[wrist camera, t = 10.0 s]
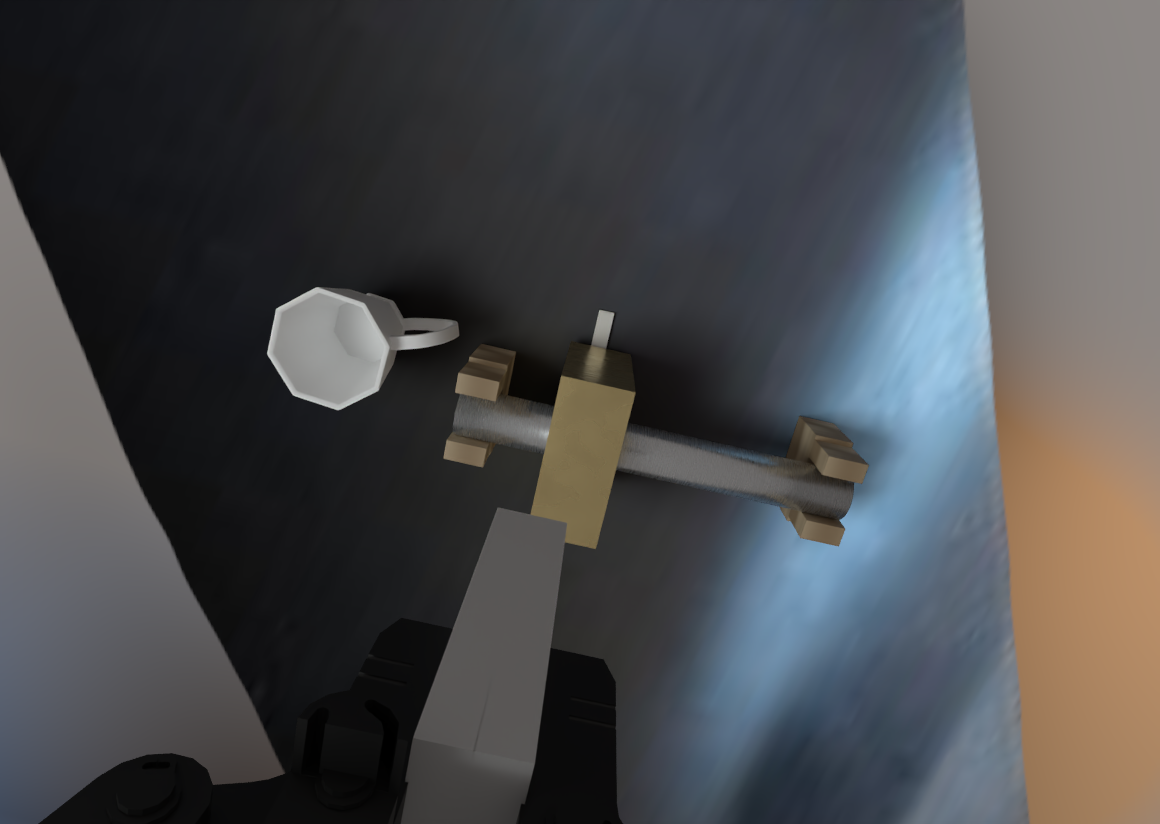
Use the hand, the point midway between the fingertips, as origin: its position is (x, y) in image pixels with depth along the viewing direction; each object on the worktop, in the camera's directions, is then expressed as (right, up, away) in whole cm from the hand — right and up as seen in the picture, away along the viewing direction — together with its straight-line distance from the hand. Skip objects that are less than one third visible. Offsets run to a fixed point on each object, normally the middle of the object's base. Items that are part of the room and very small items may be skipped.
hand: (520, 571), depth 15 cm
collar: (+2, +3, +33) cm, 33 cm away
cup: (-11, +9, +32) cm, 35 cm away
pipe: (+6, +1, +29) cm, 30 cm away
